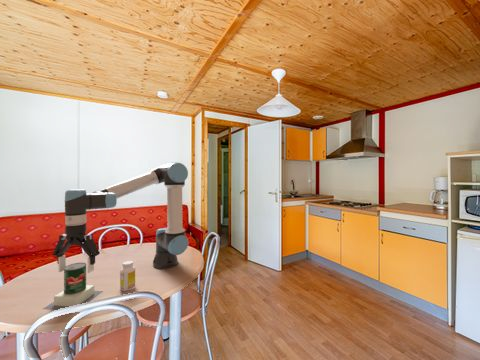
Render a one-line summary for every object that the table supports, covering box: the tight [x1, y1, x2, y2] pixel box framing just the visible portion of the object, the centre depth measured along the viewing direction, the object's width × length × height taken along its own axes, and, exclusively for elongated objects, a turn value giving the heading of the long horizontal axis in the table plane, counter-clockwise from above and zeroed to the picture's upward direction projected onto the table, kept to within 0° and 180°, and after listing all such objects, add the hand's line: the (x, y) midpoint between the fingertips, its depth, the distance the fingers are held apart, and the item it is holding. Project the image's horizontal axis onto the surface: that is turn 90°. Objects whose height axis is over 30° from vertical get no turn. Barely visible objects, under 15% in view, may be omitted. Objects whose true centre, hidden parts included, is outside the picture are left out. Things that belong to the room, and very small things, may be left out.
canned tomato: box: [63, 262, 87, 295], centre depth 93 cm, size 8×8×11 cm
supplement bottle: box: [119, 260, 136, 292], centre depth 104 cm, size 7×7×13 cm
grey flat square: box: [42, 290, 104, 311], centre depth 93 cm, size 15×15×1 cm
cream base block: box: [53, 284, 95, 306], centre depth 93 cm, size 10×10×4 cm
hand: (76, 271), depth 93 cm, fingers open, 13 cm apart
